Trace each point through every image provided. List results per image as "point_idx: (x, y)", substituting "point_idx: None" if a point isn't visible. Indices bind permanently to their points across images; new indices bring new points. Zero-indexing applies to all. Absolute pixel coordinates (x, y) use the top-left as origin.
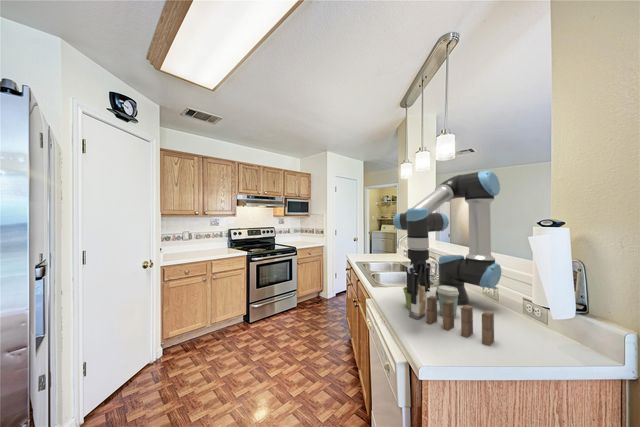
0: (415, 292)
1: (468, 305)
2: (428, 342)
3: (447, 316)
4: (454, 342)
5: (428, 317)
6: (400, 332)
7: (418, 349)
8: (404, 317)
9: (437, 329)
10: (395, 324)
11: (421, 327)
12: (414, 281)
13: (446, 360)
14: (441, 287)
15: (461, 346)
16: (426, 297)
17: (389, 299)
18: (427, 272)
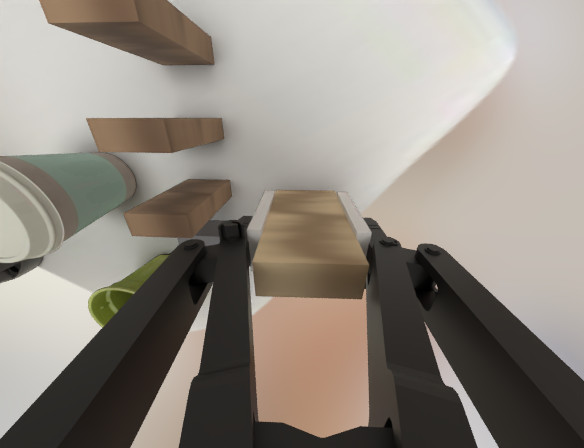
0: (402, 252)
1: (42, 7)
2: (356, 123)
3: (198, 122)
4: (286, 57)
5: (223, 196)
6: None
7: (426, 121)
8: None
9: (244, 149)
10: None
11: None
12: (495, 336)
13: (439, 9)
14: (7, 247)
15: (294, 20)
16: (259, 214)
17: (191, 330)
18: (107, 393)
